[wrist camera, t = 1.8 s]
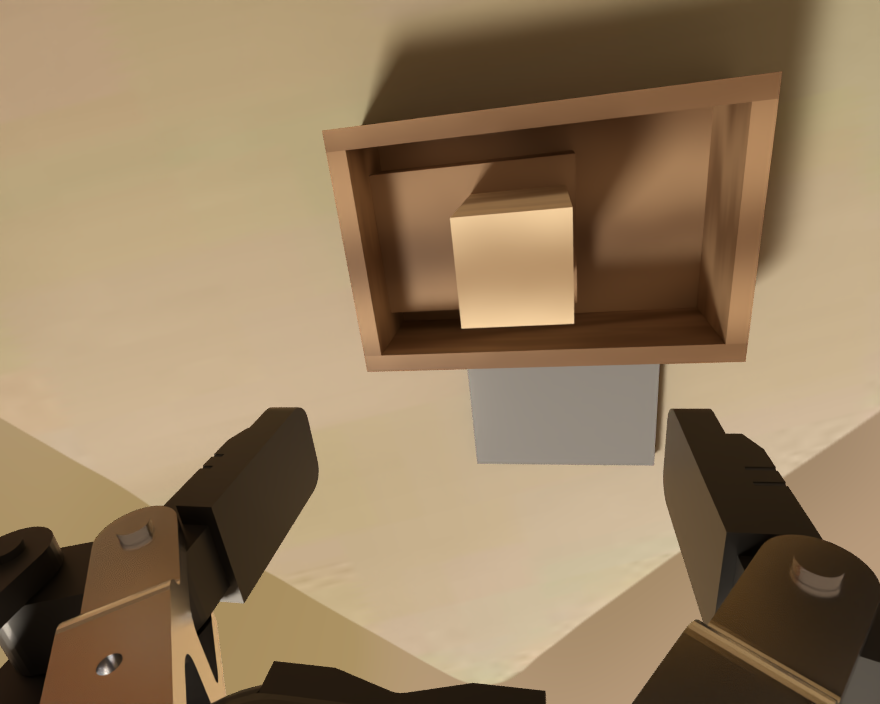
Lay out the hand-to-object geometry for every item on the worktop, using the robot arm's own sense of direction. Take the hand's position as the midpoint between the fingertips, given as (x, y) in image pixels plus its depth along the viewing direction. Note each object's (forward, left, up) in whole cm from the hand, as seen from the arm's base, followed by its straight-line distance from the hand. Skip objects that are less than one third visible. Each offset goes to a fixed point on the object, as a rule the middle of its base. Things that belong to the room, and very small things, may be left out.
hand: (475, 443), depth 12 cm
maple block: (0, 0, -19) cm, 19 cm away
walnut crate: (0, +1, -22) cm, 22 cm away
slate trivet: (+12, +2, -22) cm, 25 cm away
